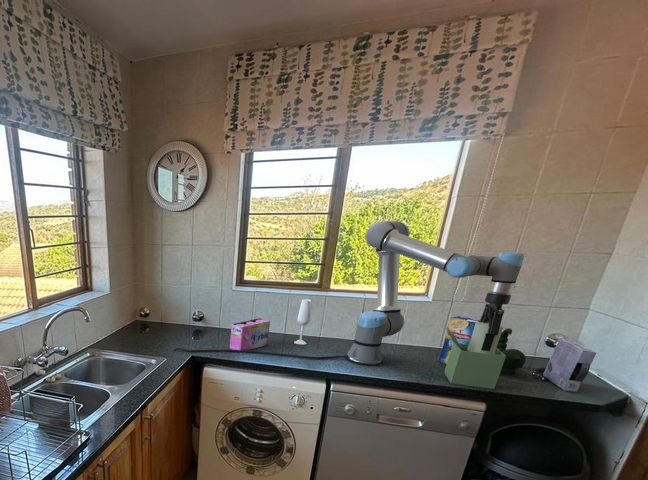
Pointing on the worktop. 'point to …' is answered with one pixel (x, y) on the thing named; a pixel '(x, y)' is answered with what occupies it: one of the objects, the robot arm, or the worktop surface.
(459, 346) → the flap
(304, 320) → the champagne flute
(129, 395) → the worktop surface
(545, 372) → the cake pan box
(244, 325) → the gum box
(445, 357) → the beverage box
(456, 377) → the green open box
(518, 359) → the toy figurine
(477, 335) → the can
